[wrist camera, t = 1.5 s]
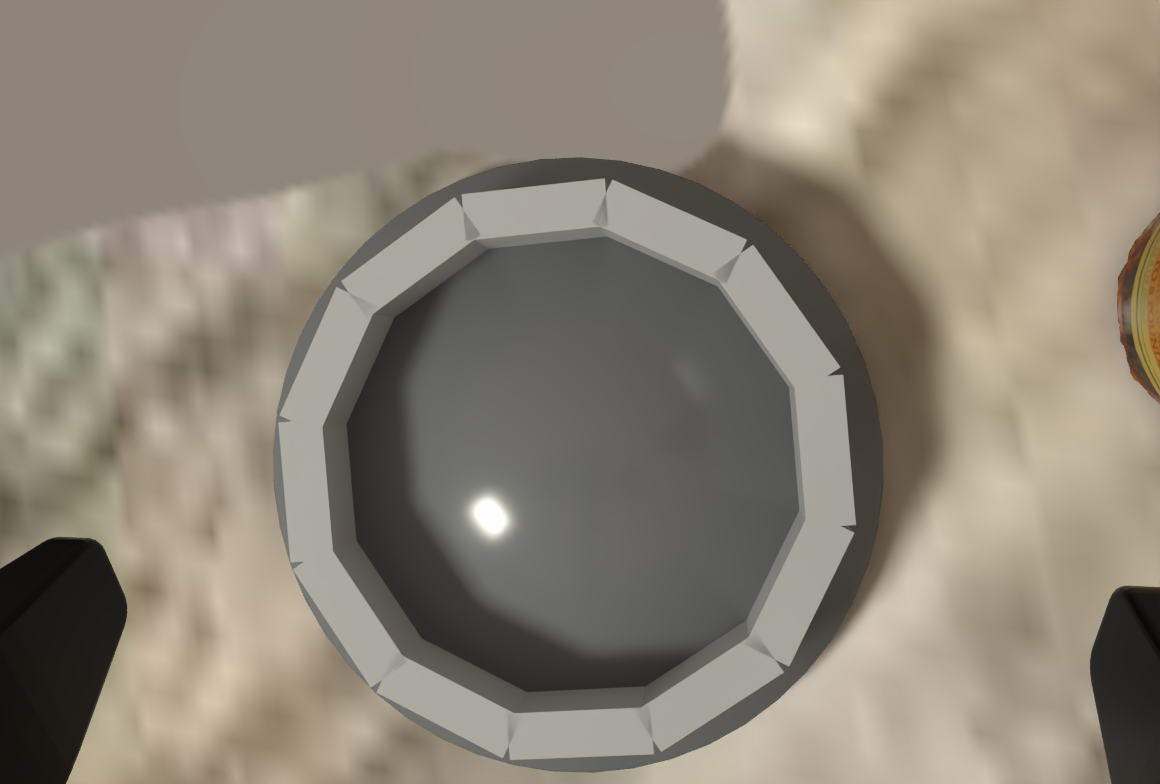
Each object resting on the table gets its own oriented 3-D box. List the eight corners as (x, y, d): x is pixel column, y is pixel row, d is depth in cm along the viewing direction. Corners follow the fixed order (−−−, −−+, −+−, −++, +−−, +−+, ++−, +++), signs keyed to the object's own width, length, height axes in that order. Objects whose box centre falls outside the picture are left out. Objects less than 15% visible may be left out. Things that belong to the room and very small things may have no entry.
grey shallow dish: (902, 747, 23) (924, 787, 21) (312, 770, 25) (272, 810, 23) (850, 132, 23) (865, 105, 21) (263, 198, 25) (218, 180, 23)
